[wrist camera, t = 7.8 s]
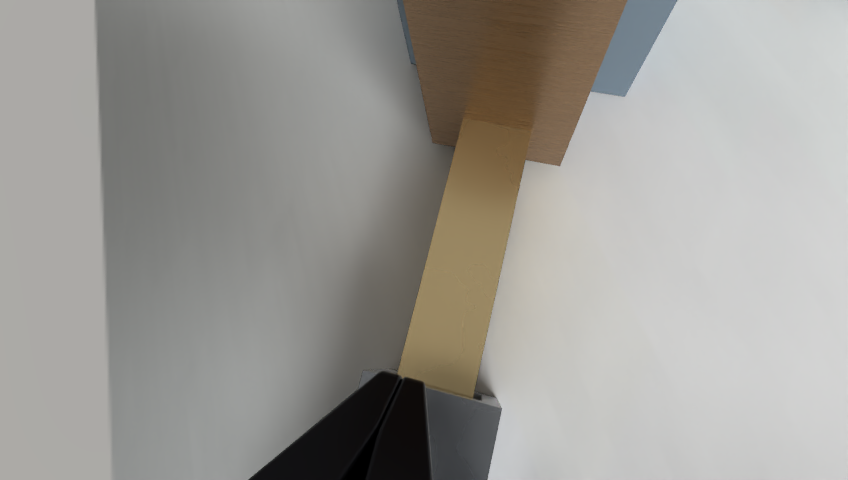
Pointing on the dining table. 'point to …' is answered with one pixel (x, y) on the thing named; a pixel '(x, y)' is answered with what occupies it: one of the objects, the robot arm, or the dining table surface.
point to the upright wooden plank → (490, 150)
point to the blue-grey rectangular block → (613, 43)
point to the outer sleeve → (458, 431)
